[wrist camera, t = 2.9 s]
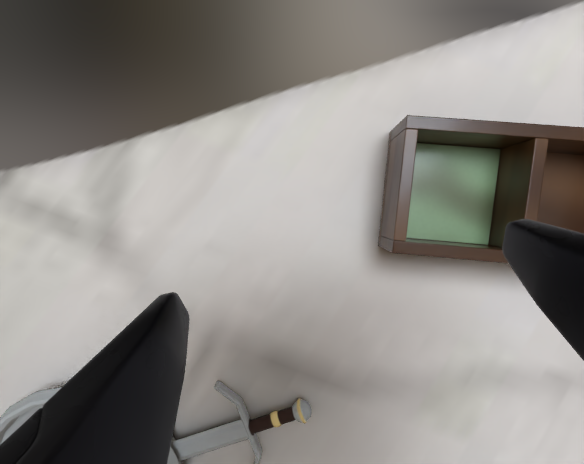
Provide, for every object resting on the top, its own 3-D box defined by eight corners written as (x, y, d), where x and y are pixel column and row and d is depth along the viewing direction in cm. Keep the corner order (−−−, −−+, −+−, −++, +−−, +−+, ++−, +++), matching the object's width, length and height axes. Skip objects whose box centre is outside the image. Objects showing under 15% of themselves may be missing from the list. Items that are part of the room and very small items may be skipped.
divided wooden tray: (600, 265, 23) (662, 277, 19) (378, 245, 24) (392, 252, 20) (619, 148, 22) (687, 134, 18) (389, 131, 23) (407, 114, 19)
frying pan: (351, 525, 23) (13, 630, 24) (345, 489, 26) (44, 586, 27) (270, 311, 22) (-74, 434, 23) (274, 300, 25) (-32, 409, 26)
